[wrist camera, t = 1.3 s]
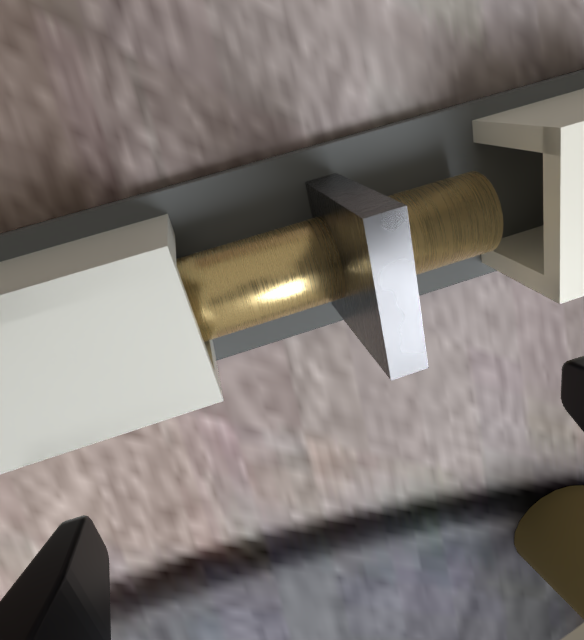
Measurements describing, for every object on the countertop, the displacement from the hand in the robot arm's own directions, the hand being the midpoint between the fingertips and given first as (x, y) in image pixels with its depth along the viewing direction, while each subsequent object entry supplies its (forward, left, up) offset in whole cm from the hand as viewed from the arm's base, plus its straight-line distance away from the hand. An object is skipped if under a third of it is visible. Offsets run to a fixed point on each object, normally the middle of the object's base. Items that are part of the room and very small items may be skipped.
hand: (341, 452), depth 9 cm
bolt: (0, 0, -11) cm, 11 cm away
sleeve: (-5, -3, -11) cm, 13 cm away
